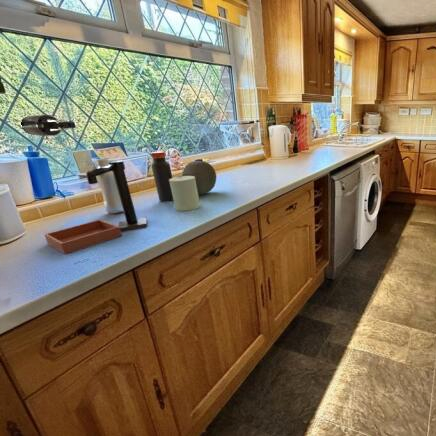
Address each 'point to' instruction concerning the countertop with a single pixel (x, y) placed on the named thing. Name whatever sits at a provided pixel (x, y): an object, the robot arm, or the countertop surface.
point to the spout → (104, 171)
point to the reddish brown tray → (82, 236)
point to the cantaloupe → (201, 175)
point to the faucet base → (127, 204)
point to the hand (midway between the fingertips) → (72, 124)
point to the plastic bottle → (109, 189)
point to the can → (184, 193)
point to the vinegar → (162, 176)
